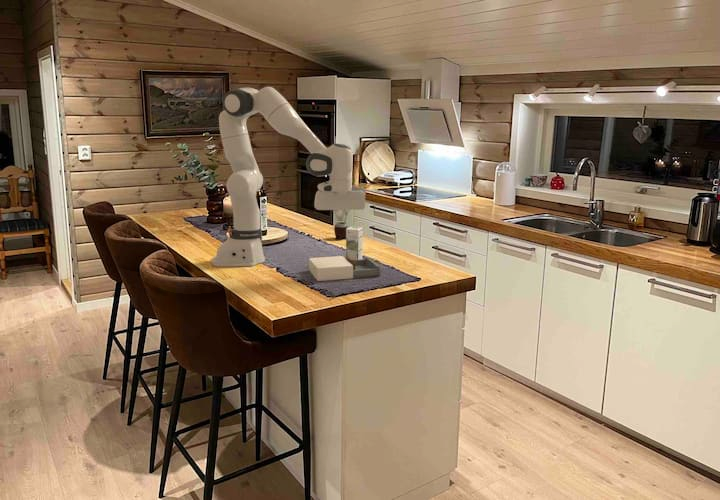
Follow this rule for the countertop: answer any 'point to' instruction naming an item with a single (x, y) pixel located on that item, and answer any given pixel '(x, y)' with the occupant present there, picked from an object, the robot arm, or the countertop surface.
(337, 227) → the mate gourd
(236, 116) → the robot arm
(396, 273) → the countertop surface
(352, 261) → the walnut tile
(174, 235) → the countertop surface
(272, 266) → the countertop surface
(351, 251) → the syrup box
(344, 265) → the cream square block
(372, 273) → the charcoal box
